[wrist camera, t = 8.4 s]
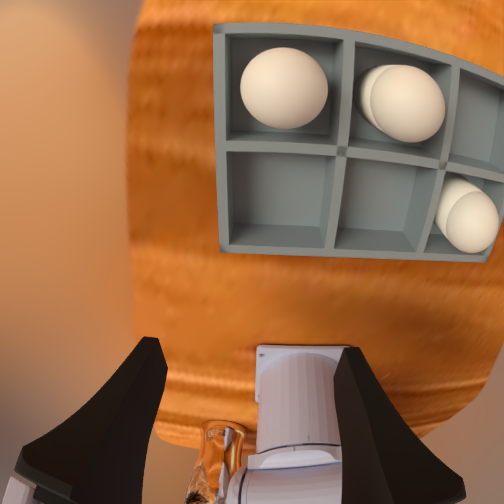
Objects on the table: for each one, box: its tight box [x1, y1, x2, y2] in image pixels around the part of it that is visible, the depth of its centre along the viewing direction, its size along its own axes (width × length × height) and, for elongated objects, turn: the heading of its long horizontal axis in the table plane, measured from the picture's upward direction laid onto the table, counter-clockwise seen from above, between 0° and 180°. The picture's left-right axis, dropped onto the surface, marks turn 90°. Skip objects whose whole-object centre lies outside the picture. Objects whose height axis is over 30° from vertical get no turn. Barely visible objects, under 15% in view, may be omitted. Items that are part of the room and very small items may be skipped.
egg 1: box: [240, 47, 328, 129], centre depth 12 cm, size 4×4×5 cm
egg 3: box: [433, 173, 499, 253], centre depth 14 cm, size 4×4×5 cm
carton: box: [213, 23, 504, 262], centre depth 14 cm, size 12×17×3 cm
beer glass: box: [184, 420, 247, 504], centre depth 29 cm, size 7×7×15 cm
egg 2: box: [354, 65, 445, 142], centre depth 12 cm, size 4×4×5 cm
